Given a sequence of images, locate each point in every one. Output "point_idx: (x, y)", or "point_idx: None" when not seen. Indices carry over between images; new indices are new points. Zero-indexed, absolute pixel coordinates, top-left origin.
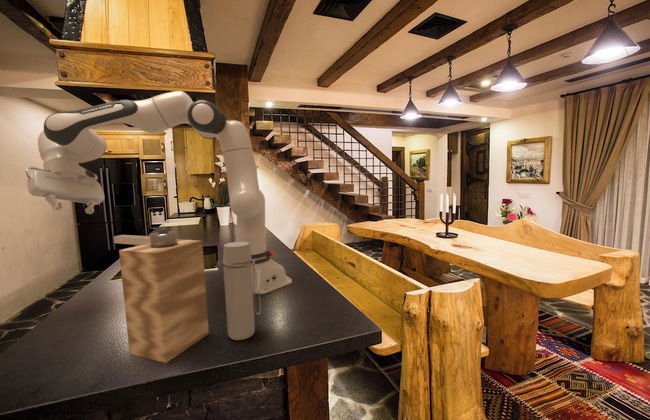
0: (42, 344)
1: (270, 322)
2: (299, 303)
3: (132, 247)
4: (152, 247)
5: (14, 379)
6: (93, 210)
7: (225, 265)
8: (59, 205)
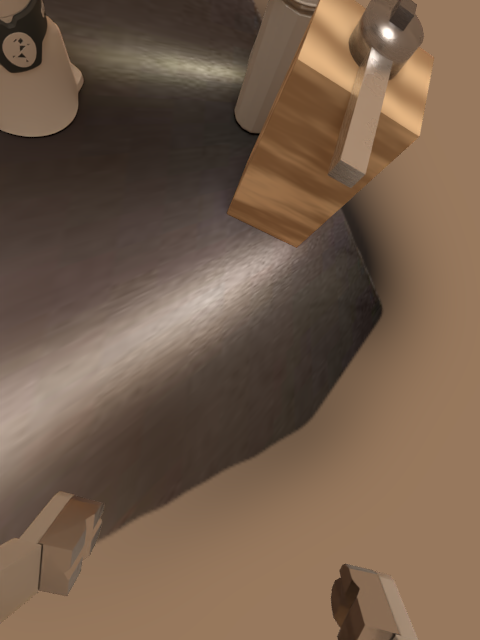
0: (275, 401)
1: (215, 82)
2: (144, 30)
3: (396, 117)
4: (396, 74)
5: (347, 354)
6: (60, 497)
7: (307, 12)
8: (375, 582)
